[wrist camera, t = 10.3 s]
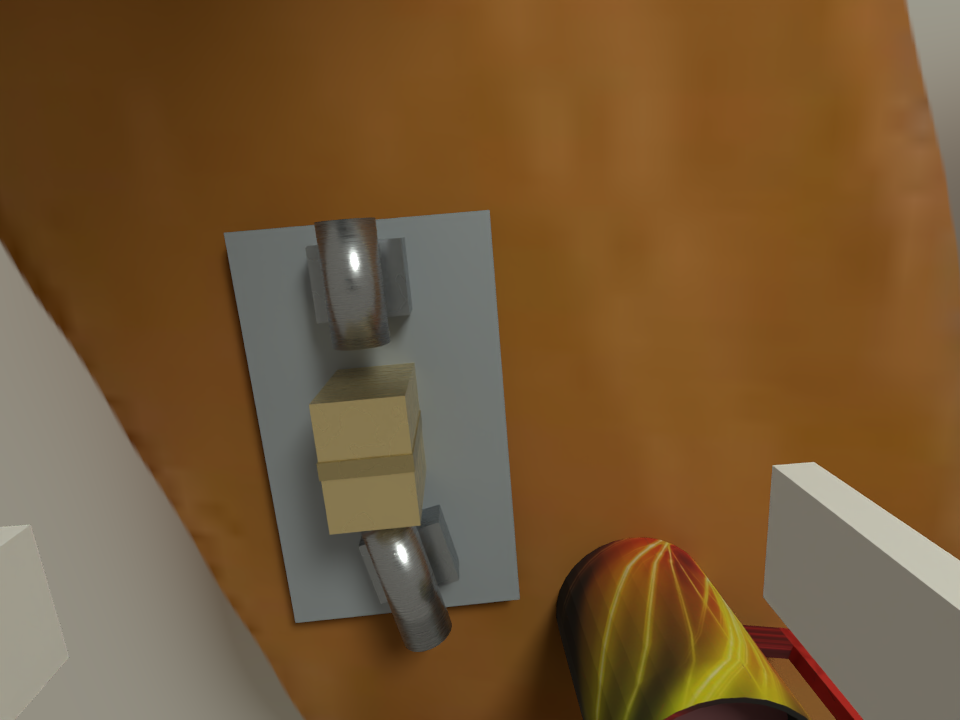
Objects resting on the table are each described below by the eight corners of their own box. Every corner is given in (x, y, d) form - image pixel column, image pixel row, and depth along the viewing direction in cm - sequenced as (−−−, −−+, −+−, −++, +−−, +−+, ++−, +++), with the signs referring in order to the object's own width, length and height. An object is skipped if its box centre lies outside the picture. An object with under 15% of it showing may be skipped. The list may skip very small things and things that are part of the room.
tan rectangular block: (427, 469, 31) (421, 526, 25) (352, 476, 31) (328, 536, 25) (415, 362, 29) (406, 396, 23) (336, 369, 29) (307, 405, 23)
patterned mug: (785, 627, 36) (946, 818, 24) (579, 690, 36) (639, 908, 25) (757, 496, 34) (918, 636, 22) (537, 564, 34) (582, 738, 22)
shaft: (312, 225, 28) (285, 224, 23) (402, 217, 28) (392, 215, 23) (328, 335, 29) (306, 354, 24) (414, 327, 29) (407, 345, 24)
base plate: (235, 232, 29) (223, 232, 27) (487, 210, 29) (489, 209, 28) (302, 605, 34) (295, 623, 32) (516, 583, 34) (519, 599, 33)
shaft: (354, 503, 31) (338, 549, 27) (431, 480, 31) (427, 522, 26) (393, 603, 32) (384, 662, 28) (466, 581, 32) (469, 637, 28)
